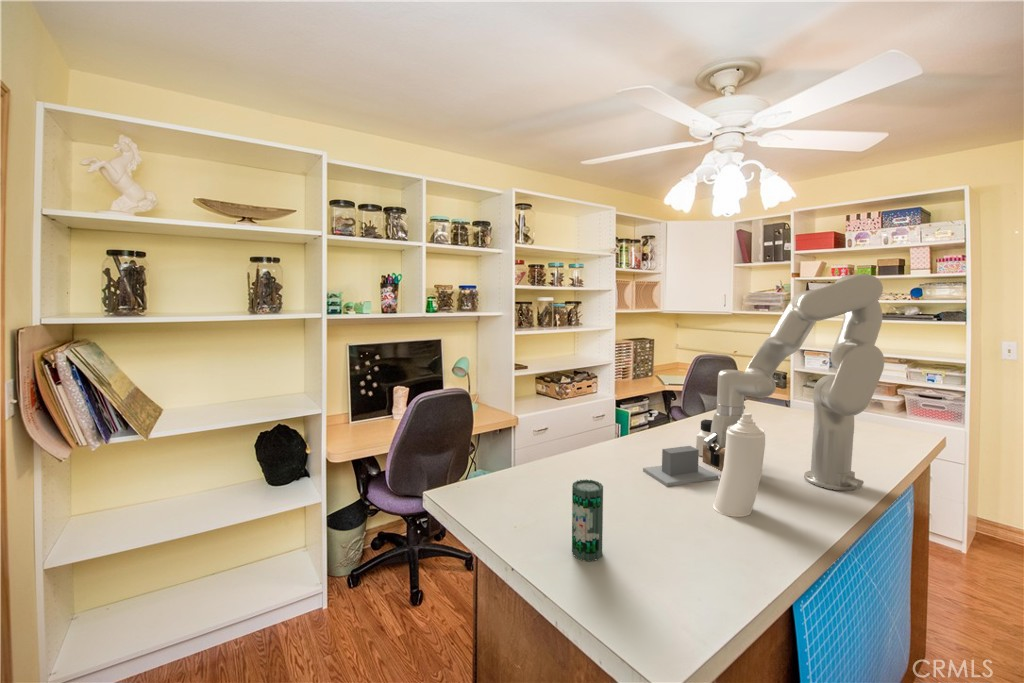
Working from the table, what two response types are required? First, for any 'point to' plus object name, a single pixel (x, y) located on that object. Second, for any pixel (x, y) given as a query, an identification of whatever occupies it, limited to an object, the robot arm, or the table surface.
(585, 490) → the can
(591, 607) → the table surface
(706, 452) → the walnut bar
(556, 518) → the table surface
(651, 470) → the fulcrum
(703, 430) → the medicine bottle
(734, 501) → the spray can
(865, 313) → the robot arm
